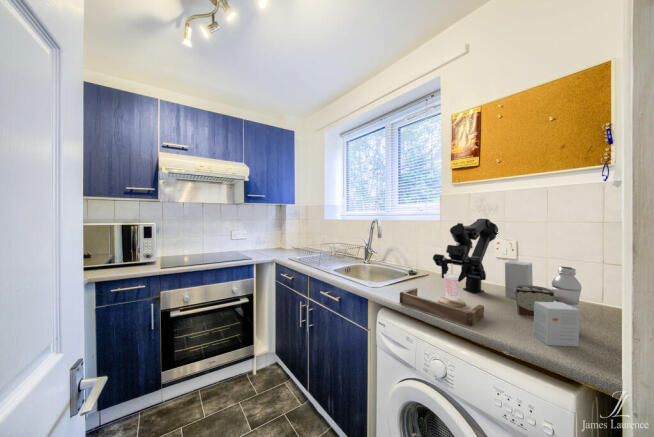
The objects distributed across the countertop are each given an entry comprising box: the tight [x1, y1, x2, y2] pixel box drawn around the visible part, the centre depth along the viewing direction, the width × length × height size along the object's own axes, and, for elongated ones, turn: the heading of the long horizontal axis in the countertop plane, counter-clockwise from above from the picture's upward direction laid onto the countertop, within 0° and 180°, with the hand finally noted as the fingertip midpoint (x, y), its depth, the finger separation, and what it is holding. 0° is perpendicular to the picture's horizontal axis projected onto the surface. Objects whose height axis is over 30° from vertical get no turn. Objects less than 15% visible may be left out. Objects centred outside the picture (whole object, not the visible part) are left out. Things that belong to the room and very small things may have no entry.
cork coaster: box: [437, 296, 466, 308], centre depth 99 cm, size 10×10×1 cm
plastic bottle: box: [551, 266, 582, 333], centre depth 74 cm, size 6×7×20 cm
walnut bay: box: [399, 286, 485, 327], centre depth 92 cm, size 11×27×4 cm, turn 39°
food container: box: [513, 284, 554, 318], centre depth 88 cm, size 12×6×10 cm, turn 71°
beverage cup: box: [444, 263, 460, 299], centre depth 99 cm, size 6×6×14 cm
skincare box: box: [504, 260, 534, 300], centre depth 104 cm, size 8×7×16 cm
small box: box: [533, 302, 580, 348], centre depth 69 cm, size 8×6×10 cm
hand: (450, 279), depth 98 cm, fingers closed on beverage cup, 6 cm apart
